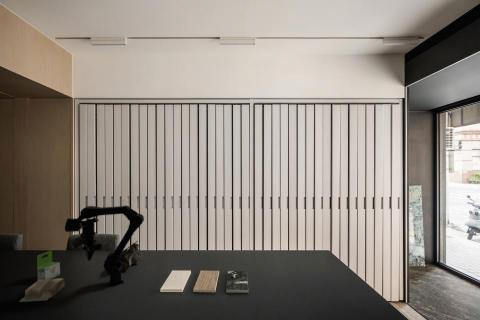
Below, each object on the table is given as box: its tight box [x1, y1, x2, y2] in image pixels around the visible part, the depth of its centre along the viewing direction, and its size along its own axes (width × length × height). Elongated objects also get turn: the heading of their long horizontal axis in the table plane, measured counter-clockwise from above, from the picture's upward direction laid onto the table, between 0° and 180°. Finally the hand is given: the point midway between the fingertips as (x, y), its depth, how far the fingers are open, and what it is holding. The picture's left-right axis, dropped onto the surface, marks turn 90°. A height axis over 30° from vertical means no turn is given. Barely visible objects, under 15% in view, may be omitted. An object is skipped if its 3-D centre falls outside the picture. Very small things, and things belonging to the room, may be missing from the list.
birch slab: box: [24, 278, 66, 299], centre depth 145 cm, size 4×12×12 cm
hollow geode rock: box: [119, 240, 143, 272], centre depth 181 cm, size 28×13×15 cm
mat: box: [19, 296, 51, 303], centre depth 145 cm, size 12×15×1 cm
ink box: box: [36, 249, 61, 282], centre depth 163 cm, size 10×5×14 cm, turn 168°
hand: (89, 260), depth 154 cm, fingers closed
